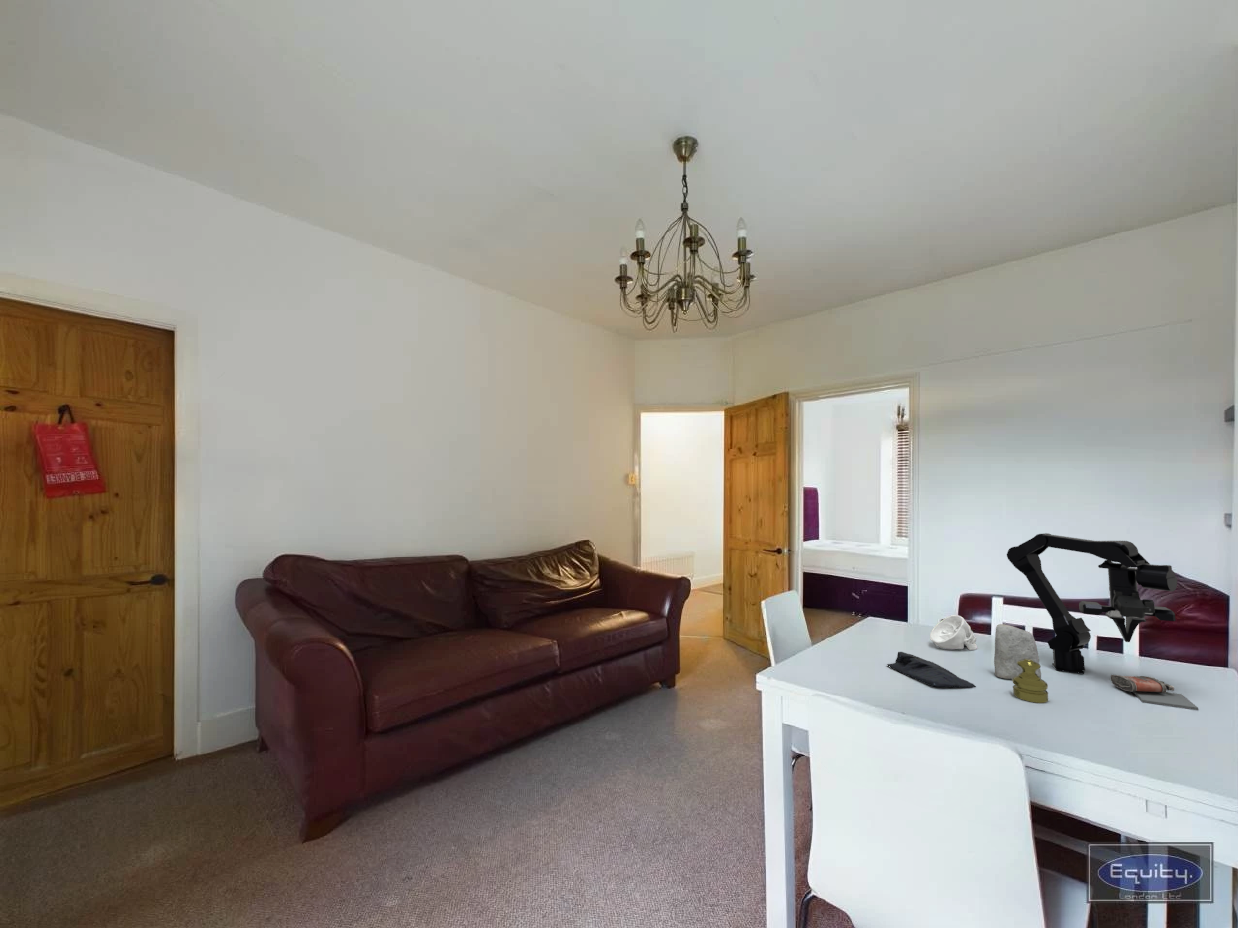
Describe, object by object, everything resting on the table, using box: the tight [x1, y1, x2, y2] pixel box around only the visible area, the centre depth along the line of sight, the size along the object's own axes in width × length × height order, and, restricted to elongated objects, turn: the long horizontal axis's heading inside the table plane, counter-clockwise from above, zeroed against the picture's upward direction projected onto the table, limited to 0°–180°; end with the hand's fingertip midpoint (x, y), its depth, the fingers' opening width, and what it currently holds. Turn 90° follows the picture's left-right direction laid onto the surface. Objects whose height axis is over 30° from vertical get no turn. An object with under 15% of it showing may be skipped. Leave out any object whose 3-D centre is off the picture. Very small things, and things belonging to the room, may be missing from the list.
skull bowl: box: [929, 614, 979, 651], centre depth 180 cm, size 10×14×12 cm
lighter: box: [1110, 674, 1175, 693], centre depth 139 cm, size 8×3×10 cm
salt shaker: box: [1011, 659, 1049, 704], centre depth 137 cm, size 7×7×10 cm
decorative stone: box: [993, 623, 1042, 680], centre depth 151 cm, size 11×6×15 cm, turn 65°
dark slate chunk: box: [886, 651, 977, 689], centre depth 154 cm, size 15×22×5 cm
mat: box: [1131, 691, 1199, 711], centre depth 134 cm, size 10×10×1 cm
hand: (1127, 641), depth 144 cm, fingers closed
